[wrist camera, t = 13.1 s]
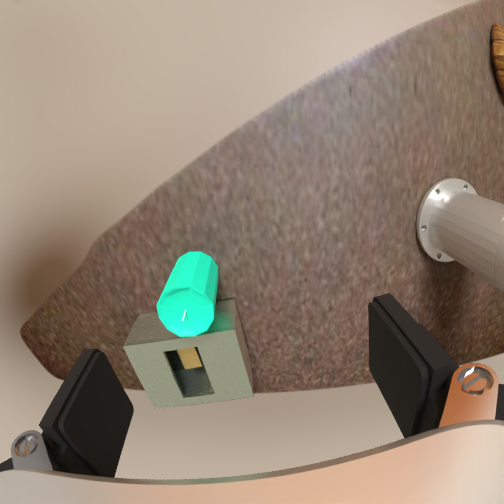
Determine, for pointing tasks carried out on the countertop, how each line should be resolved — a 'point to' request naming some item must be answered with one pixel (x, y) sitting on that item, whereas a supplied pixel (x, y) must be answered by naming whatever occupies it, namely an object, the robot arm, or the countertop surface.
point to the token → (190, 357)
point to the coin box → (194, 379)
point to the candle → (190, 295)
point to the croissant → (498, 54)
